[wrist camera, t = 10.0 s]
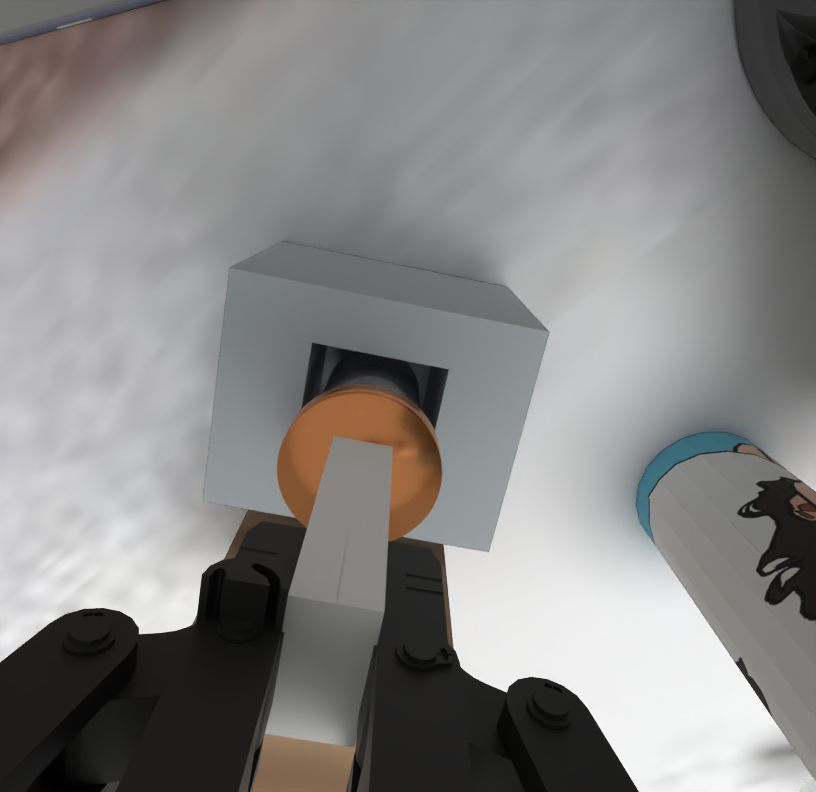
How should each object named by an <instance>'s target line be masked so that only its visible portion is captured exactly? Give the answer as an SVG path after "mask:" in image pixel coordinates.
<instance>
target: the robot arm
mask: <svg viewBox="0 0 816 792" xmlns="http://www.w3.org/2000/svg"><path fill="white" fill-rule="evenodd" d="M736 26H737V34H738V41H739V46H740V51H741V56H742V60H743V63H744V67H745V70H746V73H747V76H748V79H749V81H750V84H751V86H752V88H753V90H754V93H755V95H756V97H757V99H758V100H759V102H760V104H761V106H762V108H763V109H764V111H765V112H766V113H767V115H768V116H769V118H770V119H771V121H772V122H773V123H774V124H775V126H776V127H777V128H778V129H779V130H780V131H781V132H782V133H783V134H784V135H785V136H786V137H787V138H788V139H789V140H790V141H791V142H792V143H793V144H794V145H796V146H797V147H798V148H799V149H801V150H802V151H804V152H805V153H806V154H808V155H810V156H811V157H813V158H815V159H816V0H736ZM392 455H393V447H391V446H386V445H380V444H375V443H370V442H364V441H359V440H353V439H348V438H343V437H337V436H333V440H332V443H331V447H330V450H329V454H328V457H327V461H326V464H325V468H324V471H323V475H322V478H321V482H320V485H319V489H318V492H317V496H316V499H315V503H314V506H313V510H312V513H311V517H310V520H309V524H308V527H307V529H306V528H301V527H295V526H289V525H284V524H278V523H272V522H267V521H262V522H260V523H259V524H257V525H256V526H254V527H253V528H251V529H250V530H249V531H247V532H246V534H245V537H244V539H243V541H242V543H241V545H240V549H239V550H238V552H237V554H236V556H235V558H231V559H225V560H222V561H220V562H217V563H215V564H213V565H211V566H210V567H209V568H208V569H207V570H206V571H205V572H204V573H203V574H202V579H201V588H200V596H199V604H198V613H197V620H196V622H195V624H193V625H191V626H190V627H187V628H184V629H181V630H177V631H172V632H165V633H154V634H139V628H138V627H137V625H136V624H135V622H134V621H133V619H132V618H130V617H129V616H127V615H125V614H123V613H122V612H120V611H115V610H110V609H105V608H95V609H82V610H79V611H75V612H72V613H68V614H65V615H63V616H62V617H60V618H58V619H56V620H55V621H53V622H51V623H50V624H48V625H47V626H46V627H45V628H43V629H42V630H41V631H39V632H38V633H37V634H36V635H34V636H33V637H32V638H31V639H29V640H28V641H27V642H26V643H24V644H23V645H22V646H20V647H19V648H18V649H17V650H15V651H14V652H13V653H12V654H10V655H9V656H8V657H7V658H5V659H4V660H3V661H1V662H0V792H252V790H253V786H254V782H255V778H256V774H257V770H258V766H259V762H260V757H261V751H262V745H263V739H264V735H265V734H270V735H276V736H283V737H289V738H295V739H302V740H308V741H315V742H321V743H328V744H334V745H341V746H347V747H353V748H354V745H355V740H356V747H355V753H354V758H353V762H352V766H351V771H350V775H349V780H348V784H347V789H346V792H639V791H638V790H637V788H636V786H635V785H634V783H633V781H632V780H631V778H630V777H629V775H628V773H627V772H626V770H625V768H624V767H623V765H622V764H621V762H620V760H619V759H618V757H617V755H616V754H615V752H614V751H613V749H612V747H611V746H610V744H609V742H608V741H607V739H606V738H605V736H604V734H603V733H602V731H601V729H600V728H599V726H598V725H597V723H596V721H595V720H594V718H593V716H592V715H591V713H590V712H589V710H588V708H587V707H586V706H585V705H584V704H583V702H582V701H581V700H580V699H579V698H578V696H577V695H575V694H574V693H572V692H571V691H570V690H568V689H567V688H565V687H564V686H562V685H560V684H558V683H555V682H553V681H550V680H548V679H542V678H535V677H528V678H523V679H518V680H517V681H516V682H514V683H513V684H512V685H510V686H509V688H508V692H507V693H506V692H504V691H502V690H499V689H497V688H494V687H492V686H490V685H487V684H485V683H483V682H481V681H479V680H477V679H475V678H474V677H472V676H471V675H469V674H468V673H467V672H465V671H464V670H463V669H462V668H461V667H460V662H459V659H458V657H457V654H456V651H455V650H454V649H453V648H452V647H451V646H450V645H449V644H448V635H447V624H446V613H445V602H444V596H443V594H444V590H443V583H442V580H443V579H442V568H441V563H440V562H439V560H438V559H437V558H436V556H435V555H434V553H433V552H432V550H431V549H430V548H424V547H418V546H413V545H407V544H401V543H396V542H390V541H388V533H389V514H390V494H391V475H392Z"/></svg>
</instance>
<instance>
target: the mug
mask: <svg viewBox="0 0 816 792" xmlns="http://www.w3.org/2000/svg"><path fill="white" fill-rule="evenodd" d="M800 792H816V781H815V780H814V778H813V777H812V776H811V777H810V778H809V779H808V780H807V781H805V783H804V784H803V786H802V787H801V789H800Z"/></svg>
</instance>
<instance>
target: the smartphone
mask: <svg viewBox="0 0 816 792" xmlns="http://www.w3.org/2000/svg"><path fill="white" fill-rule="evenodd" d="M160 1H164V0H0V45H2V44H6V43H10V42H13V41H17V40H21V39H24V38H28V37H32V36H35V35H39V34H43V33H46V32H50V31H54V30H57V29H63V28H67V27H70V26H74V25H78V24H81V23H85V22H89V21H92V20H96V19H99V18H101V17H105V16H109V15H112V14H116V13H120V12H123V11H127V10H131V9H134V8H138V7H142V6H145V5H149V4H153V3H156V2H160Z"/></svg>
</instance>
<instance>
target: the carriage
mask: <svg viewBox="0 0 816 792" xmlns="http://www.w3.org/2000/svg"><path fill="white" fill-rule="evenodd" d="M262 521H267V522H272V523H278V524H284V525H289V526H295V527H301V528H306V527H305V526H304V525H303V524H302V523H300V522H299V521H298V519H297V518H294V517H288V516H283V515H277V514H272V513H266V512H260V511H255V510H249V509H248V511H247V513H246V515H245V517H244V519H243V522H242V524H241V526H240V528H239V530H238V532H237V534H236V536H235V538H234V540H233V542H232V544H231V546H230V548H229V550H228V552H227V554H226V557H225V559H231V558H235V556H236V554H237V552H238V550H239V549H240V545H241V543H242V541H243V539H244V537H245V534H246V532H247V531H249V530H250V529H251V528H253V527H254V526H256V525H257V524H259V523H260V522H262ZM306 529H307V528H306ZM390 542H396V543H401V544H407V545H413V546H418V547H424V548H430V549H431V550H432V552H433V553H434V555H435V556H436V558H437V559H438V560H439V562H440V563H441V568H442V579H443V580H442V583H443V590H444V594H443V596H444V602H445V613H446V624H447V635H448V644H449V645H450V646H451V647H452V648H453V639H452V629H451V618H450V608H449V598H448V587H447V577H446V566H445V556H444V546H443V544H440V543H434V542H429V541H423V540H417V539H412V538H406V537H400V538H398V539H396V540H393V541H390ZM225 559H224V560H225ZM196 620H197V616H196V618H195V620H194V622H193V624H195V622H196ZM193 624H192V625H193ZM355 747H356V740H355V745H354V748H353V747H347V746H341V745H334V744H328V743H321V742H315V741H308V740H302V739H295V738H289V737H283V736H276V735H270V734H265V735H264V739H263V745H262V751H261V757H260V762H259V766H258V770H257V774H256V778H255V782H254V786H253V790H252V792H346V789H347V784H348V780H349V775H350V771H351V766H352V762H353V758H354V753H355Z"/></svg>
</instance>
